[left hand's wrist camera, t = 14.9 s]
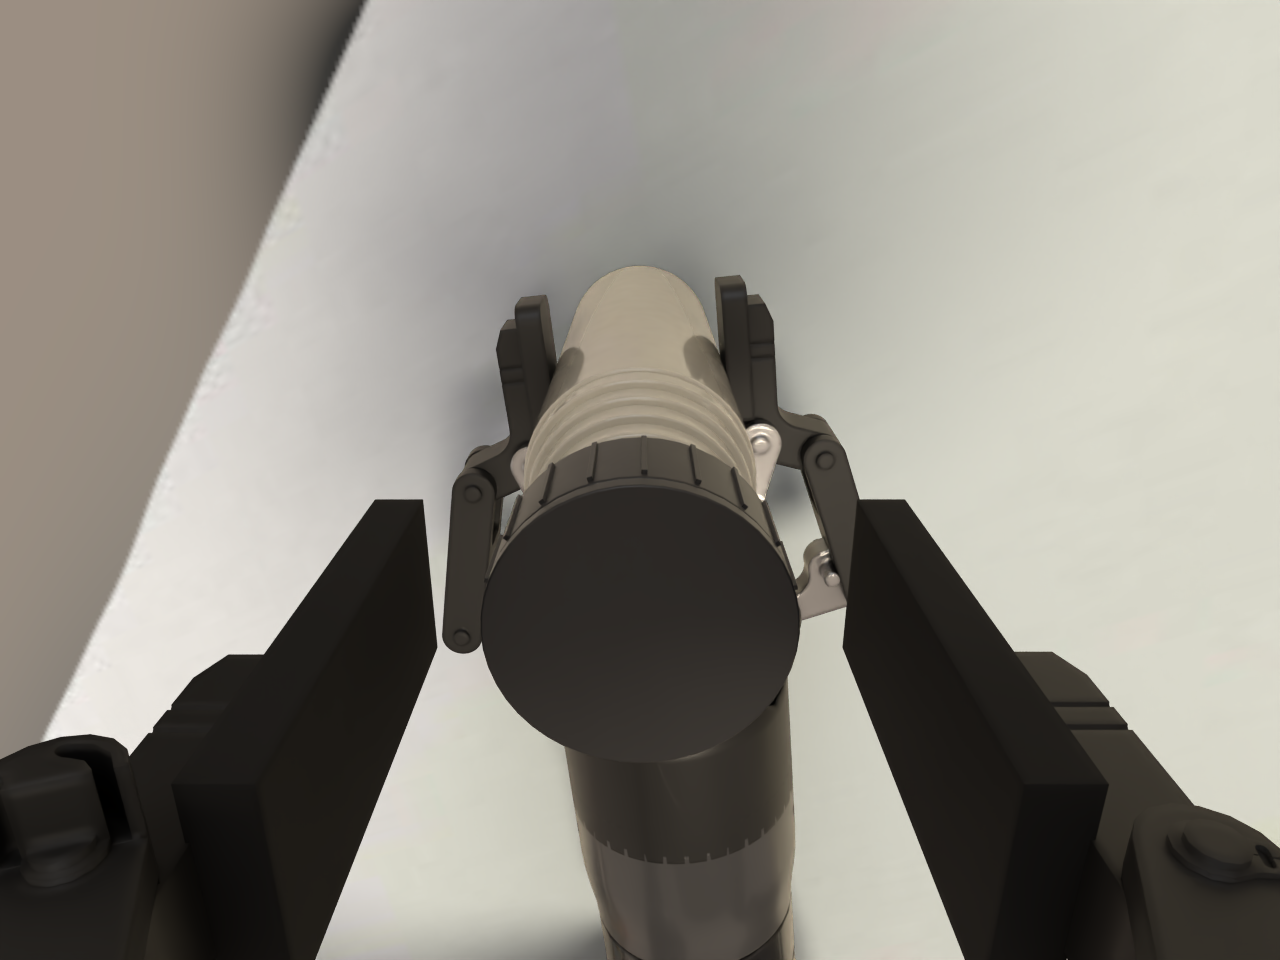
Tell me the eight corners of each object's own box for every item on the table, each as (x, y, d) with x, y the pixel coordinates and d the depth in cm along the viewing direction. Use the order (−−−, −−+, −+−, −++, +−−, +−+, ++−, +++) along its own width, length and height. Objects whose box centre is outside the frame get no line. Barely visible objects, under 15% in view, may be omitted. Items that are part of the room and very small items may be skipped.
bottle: (596, 246, 30) (530, 420, 12) (727, 291, 31) (853, 523, 13) (555, 375, 32) (444, 699, 14) (680, 416, 33) (732, 779, 14)
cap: (567, 722, 16) (557, 803, 14) (447, 496, 14) (417, 553, 12) (818, 635, 15) (844, 708, 13) (722, 388, 14) (736, 431, 12)
